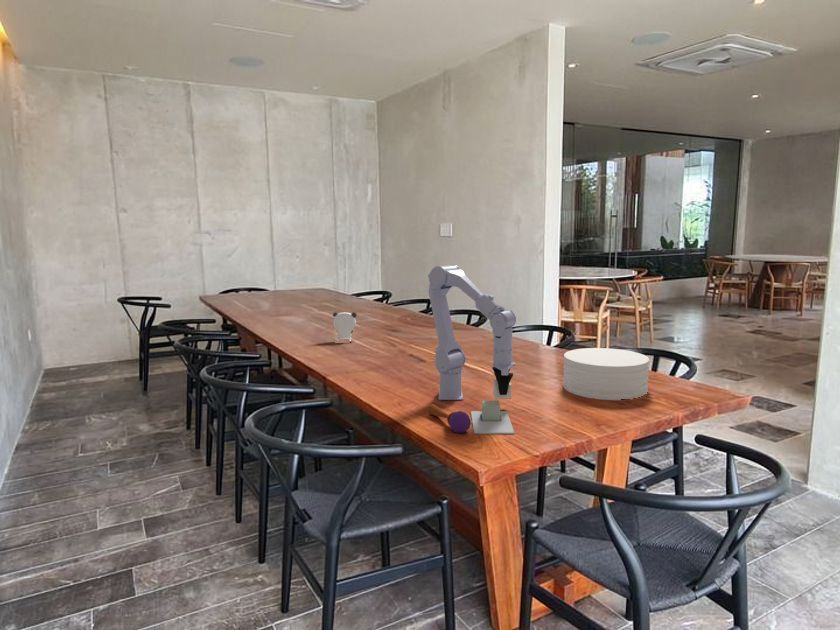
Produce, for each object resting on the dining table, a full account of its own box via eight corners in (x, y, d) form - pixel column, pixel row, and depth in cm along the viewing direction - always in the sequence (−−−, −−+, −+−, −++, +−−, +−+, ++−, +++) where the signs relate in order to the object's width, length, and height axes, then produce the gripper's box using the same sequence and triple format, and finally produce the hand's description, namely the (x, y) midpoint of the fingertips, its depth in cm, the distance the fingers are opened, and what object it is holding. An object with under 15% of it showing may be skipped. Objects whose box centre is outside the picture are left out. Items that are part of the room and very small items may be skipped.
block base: (481, 414, 167) (481, 400, 166) (498, 414, 167) (498, 400, 166) (482, 420, 162) (482, 405, 161) (499, 420, 162) (500, 405, 161)
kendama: (441, 400, 171) (475, 414, 153) (439, 419, 171) (473, 435, 153) (424, 399, 169) (457, 413, 151) (422, 418, 169) (454, 435, 151)
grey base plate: (470, 412, 171) (470, 411, 171) (506, 412, 170) (506, 411, 170) (474, 433, 153) (474, 432, 153) (514, 433, 153) (514, 432, 152)
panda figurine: (357, 339, 288) (357, 310, 285) (356, 343, 276) (355, 313, 274) (334, 339, 287) (333, 310, 285) (332, 344, 276) (331, 314, 274)
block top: (493, 394, 176) (493, 380, 176) (509, 394, 176) (509, 380, 175) (494, 398, 171) (495, 384, 171) (511, 398, 171) (511, 384, 170)
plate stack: (547, 383, 202) (548, 352, 201) (609, 374, 213) (610, 345, 211) (598, 405, 177) (600, 370, 175) (666, 394, 187) (668, 361, 185)
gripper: (518, 354, 164) (518, 399, 166) (512, 344, 178) (512, 385, 180) (494, 354, 164) (494, 399, 166) (490, 344, 179) (490, 385, 181)
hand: (502, 391), depth 173 cm, fingers closed on block top, 5 cm apart
